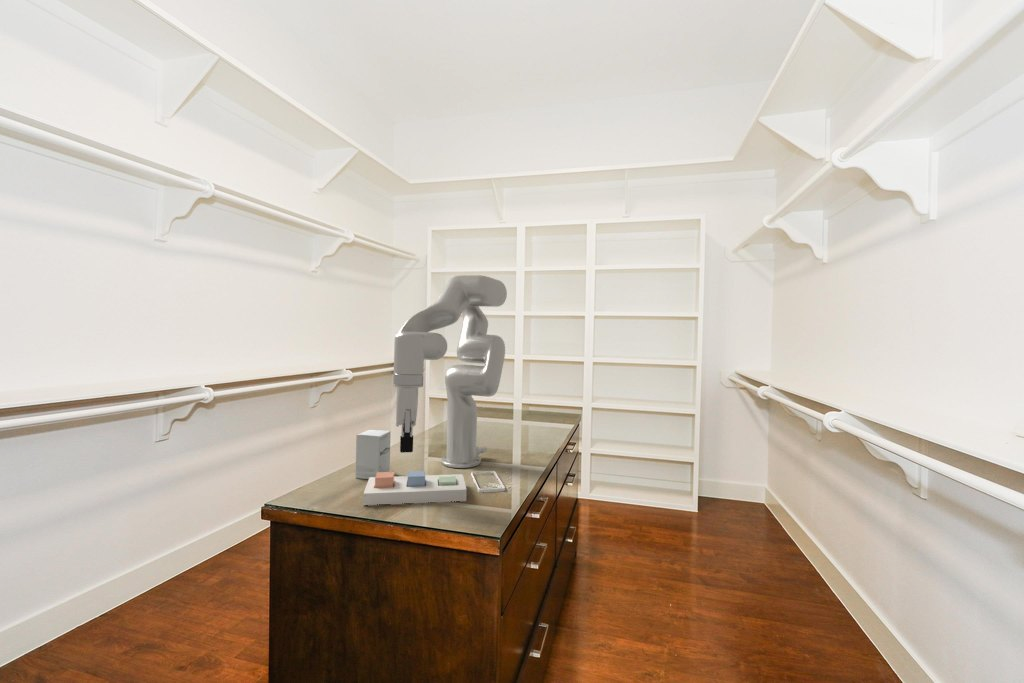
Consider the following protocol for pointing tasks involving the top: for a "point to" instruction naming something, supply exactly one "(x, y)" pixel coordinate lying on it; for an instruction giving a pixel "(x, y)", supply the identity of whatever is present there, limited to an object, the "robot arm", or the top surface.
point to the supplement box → (372, 453)
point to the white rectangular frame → (490, 488)
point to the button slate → (416, 478)
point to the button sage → (447, 480)
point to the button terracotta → (384, 480)
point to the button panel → (415, 491)
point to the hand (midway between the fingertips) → (406, 451)
